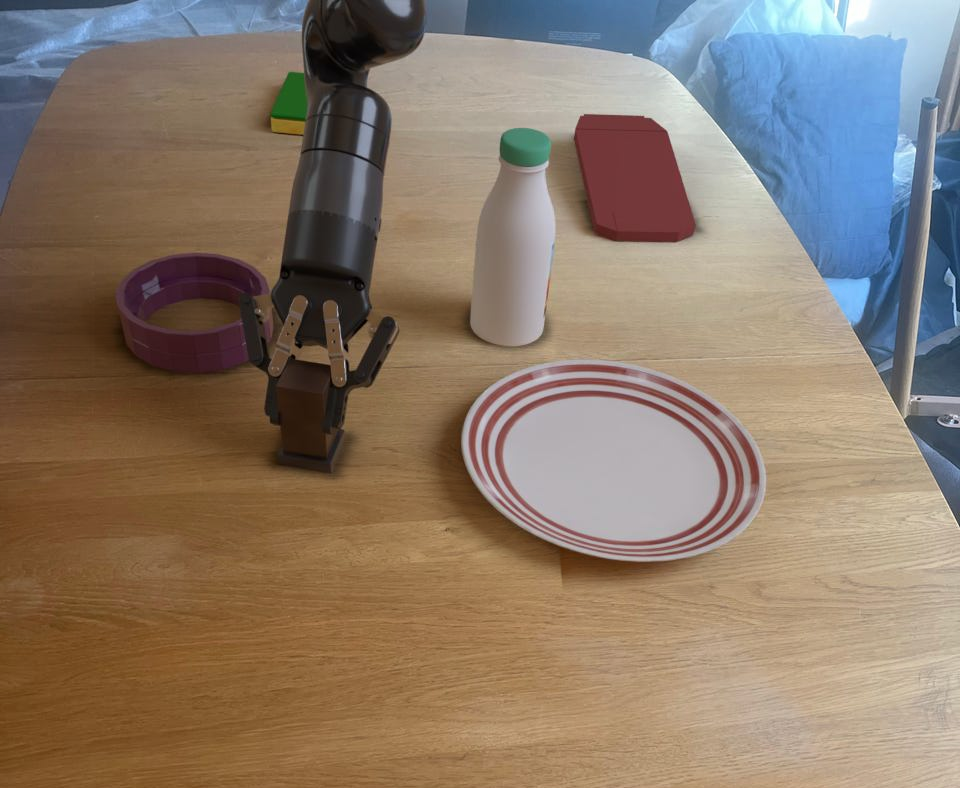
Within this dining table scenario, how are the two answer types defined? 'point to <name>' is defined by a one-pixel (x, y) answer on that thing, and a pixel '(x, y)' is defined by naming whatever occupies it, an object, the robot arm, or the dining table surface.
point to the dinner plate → (613, 460)
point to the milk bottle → (515, 244)
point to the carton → (632, 179)
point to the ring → (183, 282)
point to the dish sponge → (290, 106)
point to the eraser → (306, 417)
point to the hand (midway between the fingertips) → (302, 428)
